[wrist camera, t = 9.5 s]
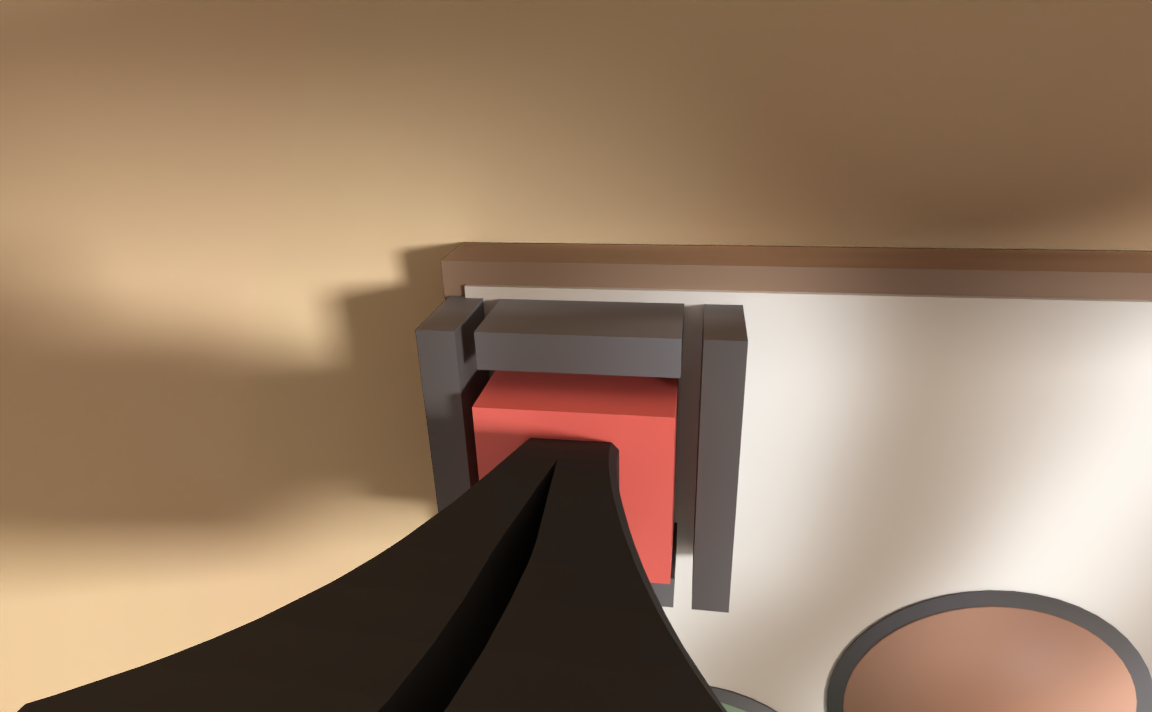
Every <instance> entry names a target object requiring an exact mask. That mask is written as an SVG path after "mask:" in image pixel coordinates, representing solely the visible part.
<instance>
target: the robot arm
mask: <svg viewBox="0 0 1152 712" xmlns="http://www.w3.org/2000/svg"><path fill="white" fill-rule="evenodd" d="M18 712H727V711H726V709H725V708H724V707H723V705H722V704H721V703H720V701H719V700H718V698H717V697H716V695H715V694H714V692H713V690H712V689H711V687H710V686H709V684H708V683H707V681H706V680H705V678H704V677H703V675H702V674H701V672H700V671H699V669H698V668H697V666H696V665H695V663H694V662H693V660H692V659H691V657H690V655H689V654H688V652H687V651H686V649H685V648H684V646H683V644H682V643H681V641H680V639H679V637H678V636H677V634H676V632H675V630H674V628H673V627H672V625H671V623H670V621H669V620H668V618H667V616H666V614H665V612H664V610H663V608H662V606H661V604H660V602H659V600H658V598H657V596H656V594H655V592H654V590H653V588H652V586H651V583H650V581H649V579H648V577H647V574H646V572H645V570H644V567H643V565H642V562H641V560H640V557H639V554H638V552H637V549H636V547H635V544H634V541H633V538H632V535H631V532H630V529H629V526H628V522H627V519H626V515H625V511H624V508H623V504H622V500H621V496H620V491H619V449H618V448H617V447H616V446H615V445H614V444H613V443H612V442H597V441H578V440H561V439H543V438H529V439H528V440H527V441H525V442H524V443H523V444H522V445H521V446H519V447H518V448H517V449H516V450H515V451H514V452H512V453H511V454H510V455H509V456H508V457H507V458H505V459H504V460H503V461H502V462H501V463H500V464H498V465H497V466H496V467H495V468H494V469H493V470H491V471H490V472H489V473H488V474H487V475H485V476H484V477H483V478H482V479H481V480H480V481H478V482H477V483H476V484H475V485H473V486H472V487H471V488H470V489H469V490H467V491H466V492H465V493H464V494H463V495H461V496H460V497H459V498H458V499H456V500H455V501H454V502H453V503H451V504H450V505H448V506H447V507H446V508H444V509H443V510H442V511H440V512H439V513H438V514H436V515H435V516H433V517H432V518H431V519H429V520H428V521H427V522H425V523H424V524H423V525H421V526H420V527H418V528H417V529H416V530H414V531H413V532H412V533H410V534H409V535H408V536H406V537H405V538H403V539H402V540H400V541H399V542H397V543H396V544H394V545H393V546H391V547H390V548H388V549H387V550H385V551H383V552H382V553H380V554H379V555H377V556H376V557H374V558H372V559H371V560H369V561H367V562H366V563H364V564H362V565H360V566H359V567H357V568H355V569H354V570H352V571H350V572H349V573H347V574H345V575H344V576H342V577H340V578H338V579H336V580H335V581H333V582H331V583H329V584H327V585H325V586H323V587H321V588H319V589H317V590H315V591H313V592H311V593H309V594H307V595H305V596H303V597H301V598H299V599H297V600H295V601H293V602H291V603H289V604H287V605H285V606H283V607H281V608H279V609H277V610H275V611H273V612H271V613H269V614H267V615H265V616H263V617H261V618H259V619H257V620H255V621H252V622H250V623H248V624H246V625H243V626H241V627H239V628H236V629H234V630H232V631H229V632H227V633H225V634H222V635H220V636H218V637H216V638H213V639H211V640H208V641H206V642H203V643H201V644H198V645H196V646H193V647H191V648H188V649H185V650H183V651H180V652H178V653H175V654H173V655H170V656H168V657H165V658H162V659H160V660H157V661H154V662H151V663H149V664H146V665H143V666H141V667H138V668H135V669H132V670H129V671H126V672H123V673H120V674H117V675H114V676H111V677H108V678H105V679H102V680H99V681H96V682H93V683H90V684H87V685H84V686H81V687H78V688H75V689H72V690H69V691H66V692H63V693H60V694H57V695H54V696H50V697H47V698H44V699H41V700H37V701H34V702H31V703H27V704H25V705H24V706H23V707H22V708H21V709H20V710H19V711H18Z"/></svg>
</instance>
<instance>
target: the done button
mask: <svg viewBox="0 0 1152 712" xmlns="http://www.w3.org/2000/svg"><path fill="white" fill-rule="evenodd" d="M678 385H679V378H665V377H642V376H618V375H595V374H571V373H548V372H524V371H501V370H495V372H494V374H493V375H492V377H491V378H490V380H489V381H488V383H487V385H486V386H485V388H484V389H483V391H482V392H481V394H480V395H479V397H478V399H477V400H476V402H475V403H474V405H473V406H472V413H473V423H474V433H475V443H476V453H477V464H478V474H479V481H480V480H481V479H482V478H483V477H484V476H485V475H487V474H488V473H489V472H490V471H491V470H493V469H494V468H495V467H496V466H497V465H498V464H500V463H501V462H502V461H503V460H504V459H505V458H507V457H508V456H509V455H510V454H511V453H512V452H514V451H515V450H516V449H517V448H518V447H519V446H521V445H522V444H523V443H524V442H525V441H527V440H528V439H529V438H543V439H561V440H578V441H597V442H612V443H613V444H614V445H615V446H616V447H617V448H618V449H619V491H620V496H621V500H622V504H623V508H624V511H625V515H626V519H627V522H628V526H629V529H630V532H631V535H632V538H633V541H634V544H635V547H636V549H637V552H638V554H639V557H640V560H641V562H642V565H643V567H644V570H645V572H646V574H647V577H648V579H649V581H650V583H661V584H670V578H671V562H672V547H673V531H674V515H675V483H676V451H677V418H678Z"/></svg>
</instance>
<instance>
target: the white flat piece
mask: <svg viewBox="0 0 1152 712" xmlns="http://www.w3.org/2000/svg"><path fill="white" fill-rule="evenodd" d="M441 268H442V277H443V286H444V296H445V301H444V302H443V303H442V304H441V305H440V306H439V307H438V308H437V309H436V310H435V311H434V312H433V313H432V314H431V315H430V316H429V317H428V318H427V319H426V320H425V321H424V322H423V323H422V324H421V325H420V326H419V327H418V328H417V329H416V330H415V332H416V340H417V347H418V355H419V363H420V371H421V379H422V387H423V394H424V402H425V410H426V418H427V426H428V434H429V442H430V449H431V457H432V465H433V473H434V481H435V489H436V496H437V504H438V512H440V511H442V510H443V509H444V508H446V507H447V506H448V505H450V504H451V503H453V502H454V501H455V500H456V499H458V498H459V497H460V496H461V495H463V494H464V493H465V492H466V491H467V490H469V489H470V488H471V487H472V486H473V485H475V484H476V483H477V482H478V481H479V474H478V464H477V453H476V443H475V433H474V423H473V413H472V406H473V405H474V403H475V402H476V400H477V399H478V397H479V395H480V394H481V392H482V391H483V389H484V388H485V386H486V385H487V383H488V381H489V380H490V378H491V377H492V375H493V374H494V372H495V370H501V371H524V372H548V373H571V374H595V375H618V376H642V377H665V378H679V385H678V418H677V451H676V483H675V515H674V531H673V547H672V562H671V578H670V584H661V583H651V586H652V588H653V590H654V592H655V594H656V596H657V598H658V600H659V602H660V604H661V606H662V608H663V610H664V612H665V614H666V616H667V618H668V620H669V621H670V623H671V625H672V627H673V628H674V630H675V632H676V634H677V636H678V637H679V639H680V641H681V643H682V644H683V646H684V648H685V649H686V651H687V652H688V654H689V655H690V657H691V659H692V660H693V662H694V663H695V665H696V666H697V668H698V669H699V671H700V672H701V674H702V675H703V677H704V678H705V680H706V681H707V683H708V684H709V686H710V687H711V689H712V690H713V692H714V694H715V695H716V697H717V698H718V700H719V701H720V703H721V704H722V705H723V707H724V708H725V709H726V711H727V712H1152V251H1090V250H1012V249H934V248H857V247H779V246H701V245H623V244H545V243H468V242H463V243H462V244H461V245H459V246H458V247H457V248H456V249H454V250H453V251H452V252H451V253H450V254H448V255H447V256H446V257H445V258H444V259H442V260H441Z"/></svg>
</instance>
